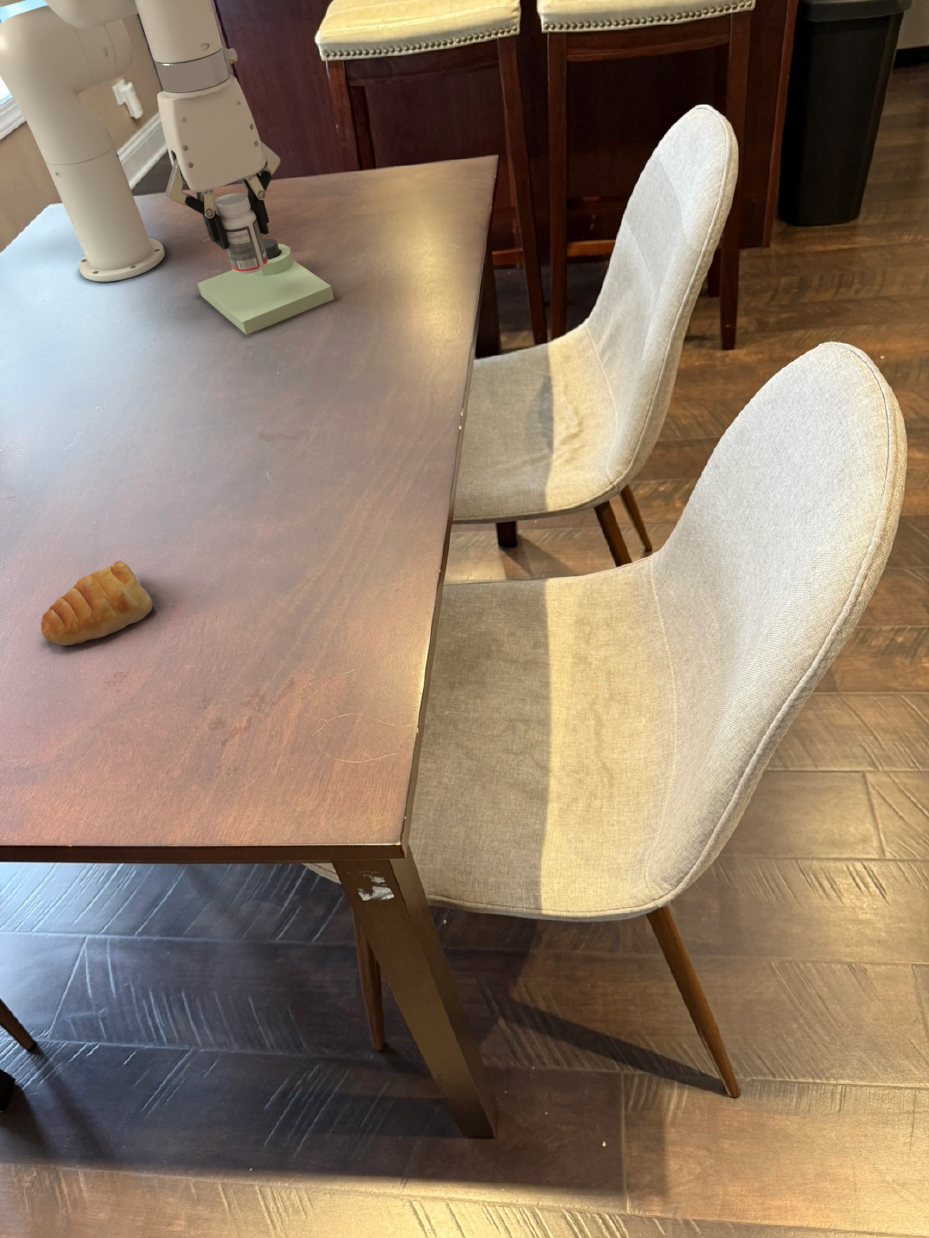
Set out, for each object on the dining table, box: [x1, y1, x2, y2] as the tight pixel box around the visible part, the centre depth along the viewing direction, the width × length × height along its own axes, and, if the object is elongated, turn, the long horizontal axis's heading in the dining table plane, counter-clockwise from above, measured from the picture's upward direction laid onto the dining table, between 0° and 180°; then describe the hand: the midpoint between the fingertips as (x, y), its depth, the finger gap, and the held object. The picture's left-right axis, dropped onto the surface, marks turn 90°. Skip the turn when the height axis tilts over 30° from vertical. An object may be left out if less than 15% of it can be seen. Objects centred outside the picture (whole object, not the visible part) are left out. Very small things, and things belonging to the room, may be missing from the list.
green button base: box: [196, 243, 335, 336], centre depth 116 cm, size 15×13×4 cm
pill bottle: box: [214, 192, 268, 274], centre depth 107 cm, size 5×5×8 cm
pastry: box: [40, 560, 153, 646], centre depth 76 cm, size 9×7×4 cm
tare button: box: [263, 238, 280, 260], centre depth 118 cm, size 3×3×2 cm
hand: (241, 237), depth 108 cm, fingers closed on pill bottle, 4 cm apart
